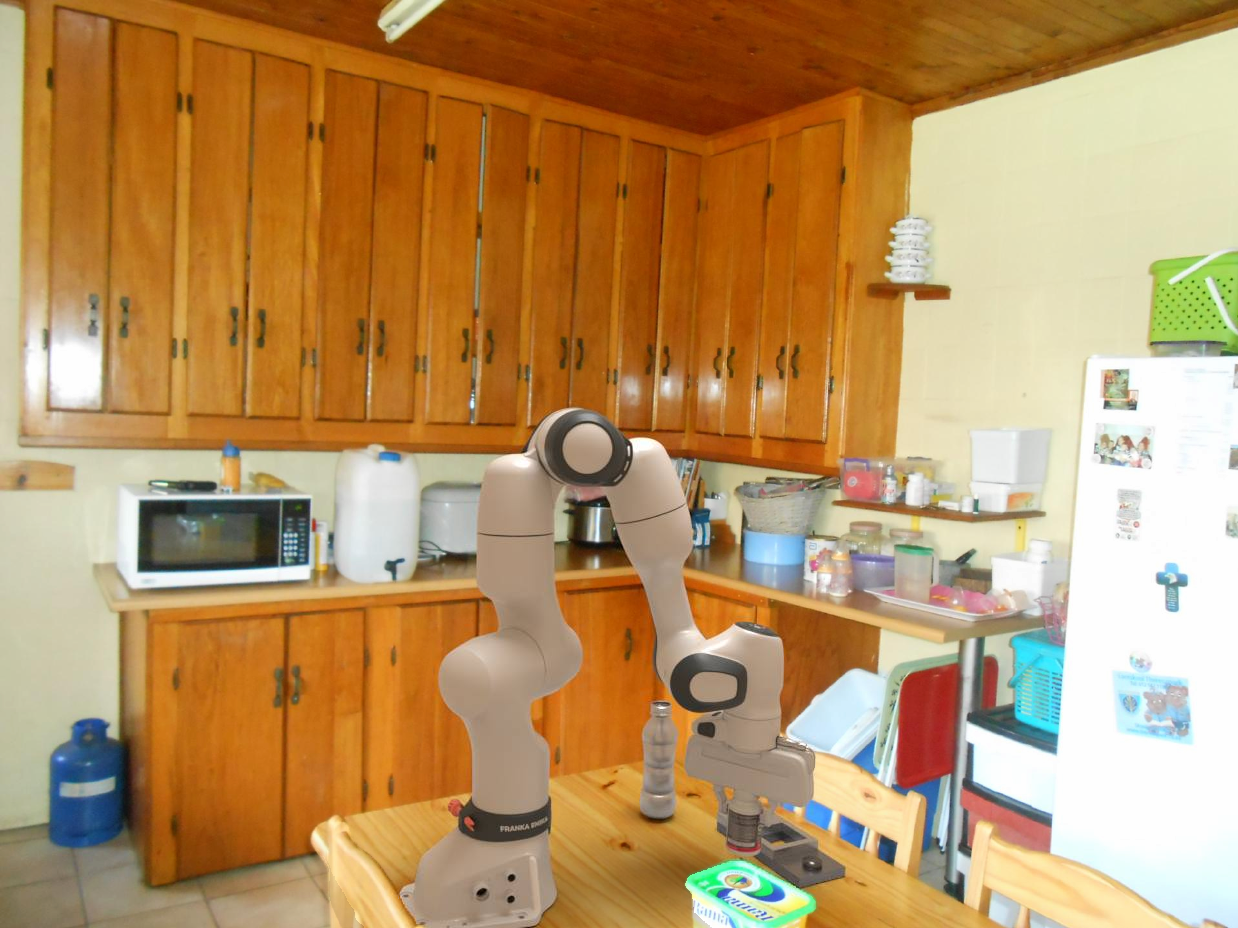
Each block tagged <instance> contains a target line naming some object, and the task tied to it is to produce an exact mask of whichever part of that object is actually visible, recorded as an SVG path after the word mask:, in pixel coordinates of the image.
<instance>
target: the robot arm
mask: <svg viewBox="0 0 1238 928" xmlns="http://www.w3.org/2000/svg"><path fill="white" fill-rule="evenodd" d="M566 486H574V487H580V488H593V487H594V488H595V487H597V488H598V487H599V488H600V489H601V490H602V491H603V493H604V495H605V496H606V498H607V501H608V502H609V506H610V509H611V514H612V517H613V520H614V525H615V528H616V529H615V530H616V531H617V534H618V535H617V536H618V538H619V540H620V542H621V545H622V546H623V547H622V548H623V549H624V551H625V554H626V556H627V558H628V560H629V561H630V563H631V565H632V567H633V568H634V570H635V572H636V573H637V575H638V577H639V578H640V581H641V583H642V585H643V590H644V593H645V596H646V599H647V604H648V607H649V612H650V615H651V619H652V623H653V625H654V634H655V635H654V644H653V650H652V667H653V671H654V674H655V675H656V677H657V679H658V680H659V681H660V682H661V683H662V684H663V685H664V687H665V688H666V689H667V691H668V692H669V694H670V695H671V696H672V698H673V700H674V701H675V702H676V703H677V704H678V705H679V706H680V707H681V708H682V709H684V710H686V711H689V712H690V713H697V714H702V715H700V716H699V717H697V718H696V719H695V720H693V721H692V723H691V732H692V735H691V736H690V737H689V738H688V741H687V744H686V749H685V755H684V765H683V766H684V771H685V773H686V775H687V776H688V777H691V778H693V779H696V780H700V781H705V782H707V783H712V791H713V793H714V795H715V798H716V801H717V802H718V809H717V810H718V811H717V813H718V812H720V813H723V814H728V803H729V800H730V799H728V796H727V794H726V792H725V789H726V788H729V789H733V790H734V789H735V790H737V789H738V790H742V791H746V792H748V793H750V794H753V795H757V796H760V797H761V798H764V799H766V800H767V802H766V803H767V806H769V808H768V809H769V810H768V811H766V810H764V811H763V812H761V813H760V817H759V818H760V821H759V824H760V825H763V826H767V827H769V826H771V825H772V822H773V813H776V810H777V809H778V808H779V806H780V805H781V804H785V805H789V806H792V807H796V808H800V809H801V808H804V807H805V806H807V805H808V804H809V803H810V802H812V800H813V798H814V794H815V791H814V790H815V784H814V783H815V780H814V779H815V778H814V771H815V768H816V759H817V758H816V753H815V751H814V750H813V749H812V748H811V747H809V746H808V743H805V742H803V741H797V740H793V739H790V738H787V737H783V736H781V721H782V706H781V703H780V701H781V700H780V699H781V697H780V696H781V693H782V690H783V688H784V676H785V675H784V674H785V673H784V672H785V659H784V657H785V654H784V644H783V640H782V638H781V637H780V635H779V634H778V633H776V631H774V630H772V629H771V628H769V627H768V626H764V625H762V624H759V623H755V622H751V621H736V622H734V623H733V624H732V625H731V626H730V627H729V628H728V629H726V630H724V631H723V632H721V633H719V634H717V635H716V636H713V637H711V638H709V639H708V638H707V637H706V636H705V634H704V633H703V632H702V631H701V629H699V628H698V626H697V624H696V623H695V621H694V617H693V614H692V609H691V605H690V602H689V601H690V600H689V598H688V594H687V590H686V585H685V581H684V574H683V573H684V571H683V570H684V564H685V563H686V560H688V557H689V556H690V555H691V552H692V551H693V548H694V534H693V527H692V526H693V525H692V518H691V515H690V511H689V507H688V503H687V499H686V496H685V492H684V489H683V487H682V483H681V481H680V479H679V476H678V473H677V471H676V468H675V467H674V464H673V461H672V460H671V458H670V456H669V454H668V453H667V450H666V449H665V446H663V444H661V443H660V442H659V441H657V440H655V439H653V438H649V437H633V438H632V437H631V438H630V439H629V438H628V437H627V436H626V435H624V434H623V432H621V430H620V429H619V428H618V427H617V426H616V425H615V424H614V423H613V422H612V421H611V420H610V419H608V417H605V416H604V415H603V414H601V413H599V412H597V411H595V410H591V409H584V408H581V407H567V408H563V409H560V410H555V411H554V412H553V411H552V412H551V413H549V414H548V415H546V416H544V417H543V418H542V419H541V420H540V421H539V422H538V423H537V425H536V427H534V429H533V431H532V433H531V434H530V437H529V438H528V440H527V441H526V443H525V445H524V447H523V449H522V450H521V452H520V453H511V454H506V455H503V456H499V457H497V458H495V459H494V460H492V461H491V462H490V463H489V464H488V465H487V467H486V468H485V470H484V473H483V477H482V483H481V487H480V492H479V497H478V498H479V499H478V508H477V517H476V518H477V520H476V522H477V523H476V578H475V579H476V585H477V587H478V589H479V592H480V593H482V594H483V596H485V597H487V598H488V599H489V600H491V601H492V603H493V606H494V609H495V613H496V617H497V622H498V624H497V625H498V627H497V631H494V632H490V633H486V634H483V635H478V636H476V637H473V638H470V639H469V640H467V641H465V642H463V643H462V644H460V645H458V646H457V647H455V648H454V649H453V650H451V651H450V652H449V653H447V654H446V655H445V656H444V658H443V660H442V661H441V664H440V666H439V670H438V676H437V678H438V679H437V680H438V688H439V692H440V696H441V698H442V700H443V702H444V703H445V705H446V706H447V708H449V711H450V710H451V712H453V714H455V715H457V716H458V717H459V718H460V719H461V720H462V722H463V723H464V726H465V728H466V730H467V734H468V737H469V742H470V748H471V760H472V761H471V767H472V768H471V771H472V773H471V774H472V775H471V781H472V782H471V796H470V798H469V799H468V801H467V802H466V803H465V804H463V803H462V802H461V801H460V800H459V799H458V798H452V799H451V800H449V802H448V803H447V807H446V808H447V810H448V812H449V813H450V814H451V815H452V816H453V817H455V818H458V819H457V826H456V827H454V828H453V829H452V830H451V831H450V832H449V833H447V835H445V836H444V837H443V838H441V839H440V840H439V841H438V842H437V843H435V844H434V845H433V846H432V847H430V848H429V850H427V851H426V852H425V853H424V854H423V855H422V857H421V858H420V860H419V863H418V866H417V869H416V875H415V880H414V882H413V883H409V884H407V885H404V886H403V887H402V888H401V890H400V891H399V894H398V896H399V895H400V898H401V899H402V902H403V904H404V905H405V908H407V910H408V911H409V912H410V914H411V915H412V916H413V917H414V919H415V921H416V924H420V925H423V926H425V927H426V928H527V927H533V926H536V925H538V924H539V922H540V921H541V919H542V915H543V913H544V912H546V911H547V910H548V909H549V908H550V907H551V906H553V904H554V903H555V901H556V899H557V897H558V890H557V887H556V883H555V880H554V875H553V869H552V861H551V853H550V852H551V851H550V837H549V835H550V834H551V831H552V830H551V829H552V819H553V817H552V816H553V815H552V814H553V811H552V798H551V796H550V793H549V792H550V764H551V763H550V760H551V750H550V746H549V744H548V741H547V740H546V739H545V738H544V737H543V736H542V735H541V734H540V733H538V732H537V731H535V729H534V725H533V721H532V717H531V706H532V703H533V702H534V701H536V700H539V699H541V698H544V697H546V696H549V695H551V694H554V693H556V692H558V691H559V690H561V689H562V688H563V687H564V686H565V685H567V684H568V683H570V682H571V680H573V679H574V678H575V677H576V676H577V674H578V673H579V671H580V670H581V668H582V664H583V659H584V655H583V653H584V652H583V645H582V643H581V640H580V638H579V636H578V634H577V633H576V632H575V631H574V629H573V628H571V626H570V625H568V623H567V622H566V620H565V618H564V615H563V613H562V610H561V606H560V602H559V599H558V595H557V588H556V581H555V577H556V575H555V510H556V504H557V501H558V497H559V495H560V493H561V491H563V489H564V488H565V487H566ZM703 713H704V714H703Z"/></svg>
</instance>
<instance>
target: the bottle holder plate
mask: <svg viewBox="0 0 1238 928" xmlns="http://www.w3.org/2000/svg"><path fill="white" fill-rule="evenodd" d="M764 810H766V811H768V810H769V808H767V807H766V806H764V805H763V811H764ZM716 814H717V815H716V820H717V821H716V831H718V832H719V833H721V834H722V835H723V836H725V837H726V831H727V814H723V813H720V812H718V811H717V813H716ZM778 841H782V842H784V843H782V844H778V845H774V844H772V843H774V842H778ZM753 857H755V859H757V860H758V861H759V862H761V863H763V864H764V865H766V866H767V867H768V868H770V869H772V870H773V871H774V872H775V873H777V874H779V875H780V876H781V877H782V878H784V879H785V880H787V881H788V882H789V883H791V884H793V885H794V886H795V885H796V886H795V887H797V886H798V887H799V888H798V887H797V888H798V889H801V888H806V887H809V886H814V885H817V884H816V883H818V884H821V882H822V883H824V882H823V881H825V882H828V880H829V881H831V880H830V879H833V880H836V879H835V878H837V879H840V878H839V877H841V878H844V877H843V876H845V877H846V866H845V865H843V864H842V863H840V862H838V861H837V860H835V859H834V858H832V857H830V856H829V855H828V854H826V853H825V852H823V851H821V850H820V849H819V840H818V839H817V838H816V837H814V836H813V835H811V834H809V833H808V832H806V831H804V830H803V829H801V828H800V827H798V826H797V825H794V824H793V823H791V822H790V821H788V820H787V819H785V818H783V817H782V816H780V815H778V814H777V813H776V812H774V813H773V822H772V825H771V826H769V827H767V826H763V825H762V838H761V850H760V852H759V853H758V854H757V855H754V856H753Z"/></svg>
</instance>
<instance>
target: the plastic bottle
mask: <svg viewBox="0 0 1238 928" xmlns="http://www.w3.org/2000/svg"><path fill="white" fill-rule="evenodd" d="M672 706H673V705H672V702H669V701H666V700H655V701H652V702H651V703H650V712H649V715H650V718H649V719H648V720H647V722H646V723H645V724H644V726H643V729H642V733H641V739H642V740H641V741H642V749H643V763H644V764H643V776H642V777H643V778H642V787H641V791H640V795H639V796H640V797H639V806H640V811H641V812H642V814H643V815H644V816H645V817H646V818H649V819H655V820H664V819H668V818H670V817H671V816H673V814H674V813H675V811H676V808H677V807H676V806H677V795H676V790H675V760H676V759H675V758H676V752H677V746H678V739H679V733H678V732H679V731H678V729H677V726H676V724H675V723H674V721H673V720H672V718H671V716H672V713H673V711H672Z"/></svg>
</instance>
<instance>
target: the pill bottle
mask: <svg viewBox="0 0 1238 928" xmlns="http://www.w3.org/2000/svg"><path fill="white" fill-rule="evenodd" d="M732 792H733V793H732V794H733V797H731V798H730V799H728V800H729V803H728V814H727V831H726V836H725V848H726V849H727V850H728V852H729V853H732V854H733V855H736V856H739V857H754V855H757V854H758V853H759V852H760V850H761V838H762V825H760V824H759V821H760V818H759V817H760V813H761V812H763V806H764V804H763V803H762V801H761V800H759V799H760V796H757V795H753V794H750V793H748V792H746V791H742V790H738V789H737V790H735V789H733V791H732Z"/></svg>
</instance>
